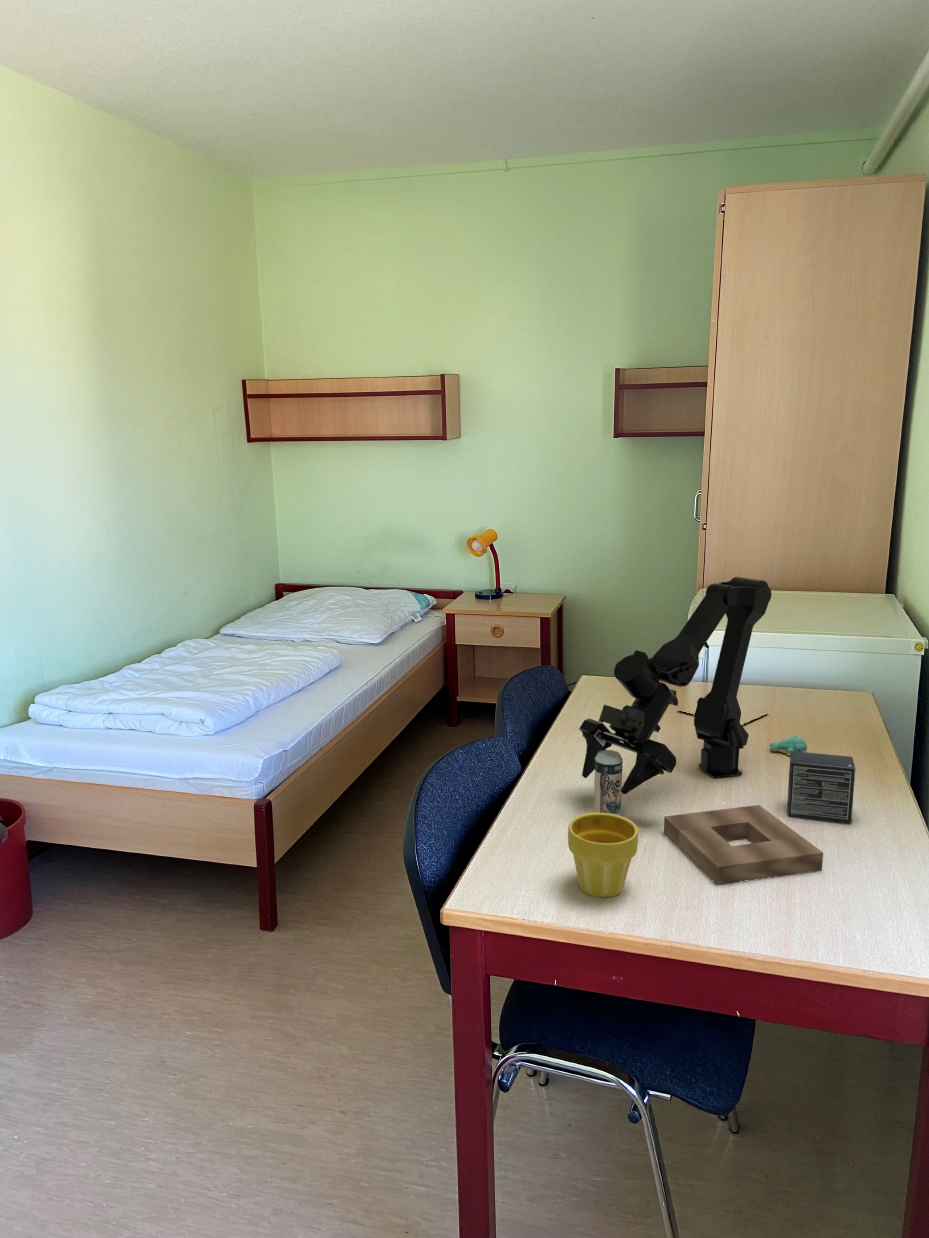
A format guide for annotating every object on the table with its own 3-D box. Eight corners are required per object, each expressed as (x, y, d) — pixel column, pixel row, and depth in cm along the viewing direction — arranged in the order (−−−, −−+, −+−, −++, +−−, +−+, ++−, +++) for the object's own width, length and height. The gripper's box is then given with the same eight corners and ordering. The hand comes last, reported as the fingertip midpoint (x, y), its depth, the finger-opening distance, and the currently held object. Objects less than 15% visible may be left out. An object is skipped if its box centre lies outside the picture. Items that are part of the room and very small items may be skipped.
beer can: (604, 825, 151) (605, 760, 148) (588, 815, 155) (589, 752, 152) (626, 819, 153) (628, 755, 150) (610, 809, 157) (611, 747, 155)
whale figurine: (807, 760, 180) (808, 742, 179) (770, 756, 182) (771, 739, 181) (805, 750, 185) (806, 733, 184) (768, 746, 187) (770, 730, 186)
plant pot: (644, 903, 126) (647, 841, 124) (574, 906, 125) (575, 844, 123) (626, 868, 136) (628, 810, 134) (561, 871, 136) (562, 813, 133)
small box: (848, 809, 156) (853, 755, 154) (852, 825, 150) (857, 768, 148) (786, 802, 159) (790, 748, 157) (787, 817, 153) (791, 761, 151)
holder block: (758, 820, 152) (759, 804, 151) (821, 870, 135) (823, 852, 134) (663, 832, 148) (664, 816, 147) (717, 885, 131) (718, 866, 130)
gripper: (587, 676, 159) (542, 747, 154) (668, 700, 144) (622, 778, 140) (615, 708, 165) (573, 777, 161) (695, 734, 151) (652, 810, 146)
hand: (602, 784), depth 152 cm, fingers open, 9 cm apart
